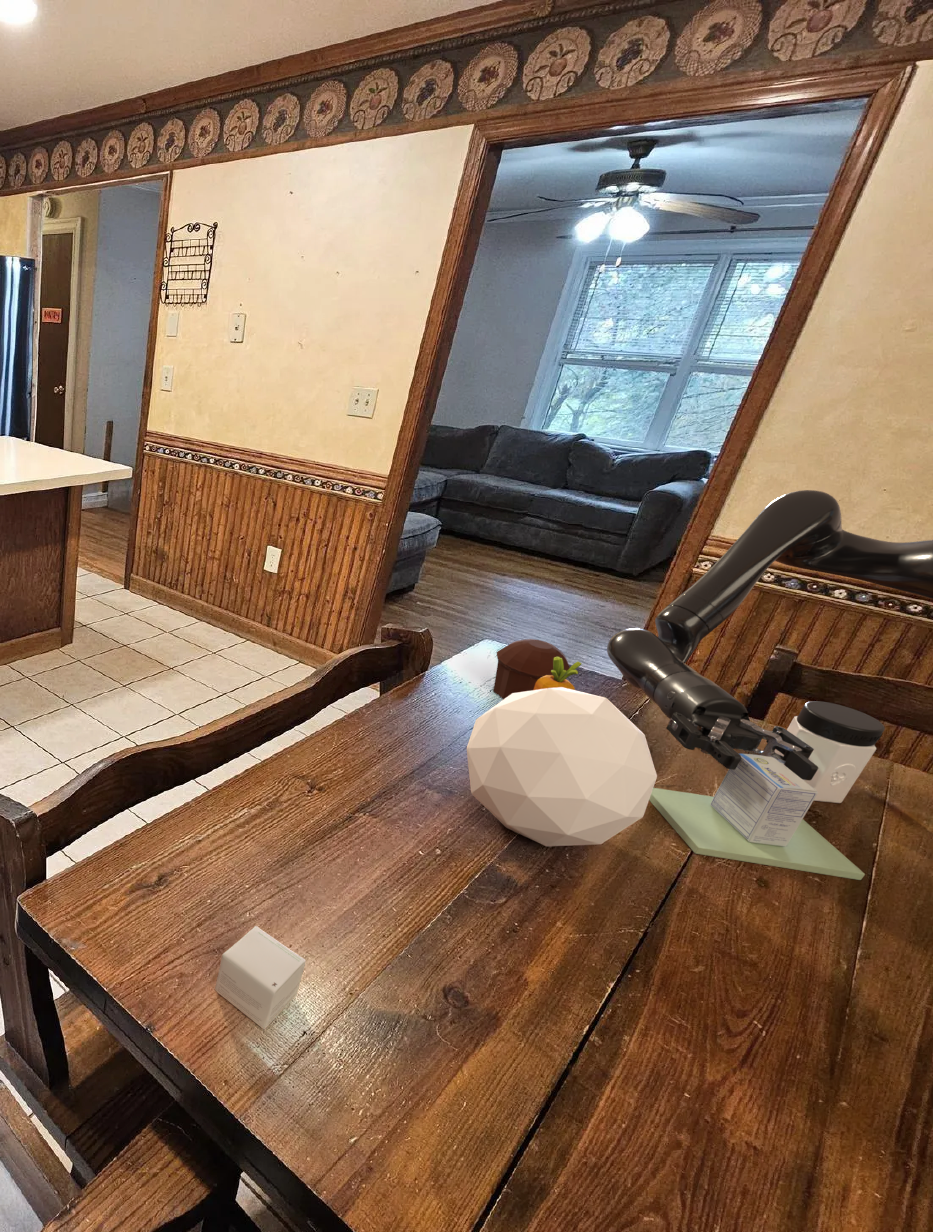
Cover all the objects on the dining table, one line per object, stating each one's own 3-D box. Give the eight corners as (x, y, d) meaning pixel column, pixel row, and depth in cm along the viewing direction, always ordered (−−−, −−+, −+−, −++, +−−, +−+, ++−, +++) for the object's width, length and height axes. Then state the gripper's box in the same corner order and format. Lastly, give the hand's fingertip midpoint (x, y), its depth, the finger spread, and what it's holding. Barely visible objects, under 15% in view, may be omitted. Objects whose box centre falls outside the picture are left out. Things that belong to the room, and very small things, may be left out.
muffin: (501, 674, 133) (518, 625, 128) (567, 699, 125) (588, 647, 121) (473, 692, 126) (491, 640, 121) (542, 719, 118) (564, 665, 114)
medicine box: (786, 848, 90) (821, 792, 86) (747, 843, 90) (780, 787, 86) (743, 809, 97) (774, 756, 93) (707, 804, 97) (736, 751, 94)
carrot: (550, 741, 112) (585, 655, 105) (551, 756, 108) (587, 668, 102) (514, 731, 114) (546, 647, 108) (513, 745, 110) (547, 659, 104)
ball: (496, 883, 93) (451, 791, 83) (483, 759, 106) (443, 669, 96) (685, 878, 81) (658, 772, 72) (644, 741, 95) (617, 636, 85)
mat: (786, 813, 98) (790, 807, 98) (861, 880, 87) (865, 874, 86) (641, 791, 101) (644, 786, 101) (694, 853, 89) (698, 847, 89)
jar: (791, 800, 101) (835, 727, 96) (747, 766, 108) (786, 698, 103) (859, 806, 101) (907, 734, 95) (810, 772, 108) (852, 703, 103)
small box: (298, 996, 68) (308, 959, 65) (264, 1032, 64) (274, 995, 62) (247, 958, 71) (255, 922, 69) (212, 991, 68) (220, 954, 65)
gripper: (741, 735, 105) (822, 802, 91) (634, 721, 108) (697, 784, 93) (765, 691, 102) (853, 753, 88) (654, 677, 104) (723, 735, 90)
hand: (772, 768), depth 91 cm, fingers open, 8 cm apart
